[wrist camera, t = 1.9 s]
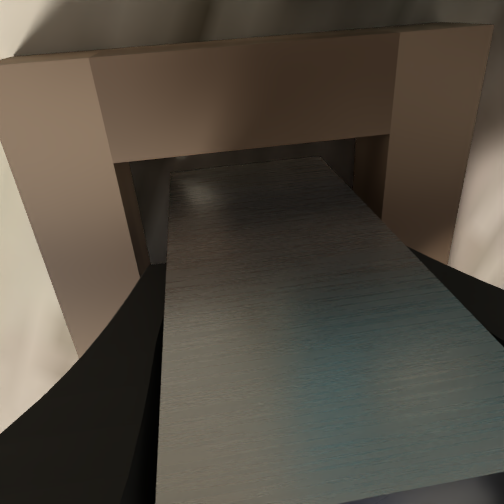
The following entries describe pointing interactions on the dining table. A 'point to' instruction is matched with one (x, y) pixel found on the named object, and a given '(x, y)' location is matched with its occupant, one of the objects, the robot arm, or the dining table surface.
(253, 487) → the peg
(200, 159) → the dining table surface
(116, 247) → the socket block
